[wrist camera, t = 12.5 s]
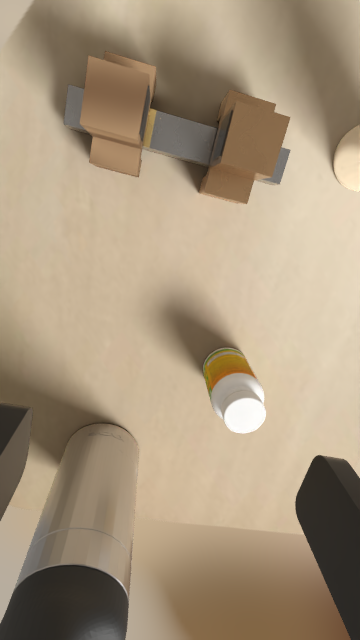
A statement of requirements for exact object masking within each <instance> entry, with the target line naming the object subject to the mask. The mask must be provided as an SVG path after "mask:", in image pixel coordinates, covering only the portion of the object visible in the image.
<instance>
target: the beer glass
mask: <svg viewBox="0 0 360 640" xmlns="http://www.w3.org/2000/svg"><path fill="white" fill-rule="evenodd" d="M333 167H334V172H335V175H336V178H337V179H338V181H339V182H340V183H341V185H343V186H344V187H345V188H347V189H349V190H352V191H360V125H358V126H356V127H354V128H353V129H351V130H350V131H349V132H347V133H346V134H345V135H344V137H343V138H342V139H341V141H340V142H339V144H338V146H337V148H336V151H335V154H334V160H333Z"/></svg>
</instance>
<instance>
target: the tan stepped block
mask: <svg viewBox="0 0 360 640" xmlns="http://www.w3.org/2000/svg"><path fill="white" fill-rule="evenodd" d="M155 87H156V67H155V66H152V65H149V64H145V63H142V62H139V61H136V60H132V59H129V58H126V57H123V56H120V55H116V54H113V53H110V52H107V51H105V54H104V60H102V59H99V58H95V57H92V56H88V64H87V71H86V79H85V87H84V94H83V102H82V110H81V118H80V124H81V125H82V126H83V127H84V128H85V129H86V130H87V131H88V132H89V133H90V134H91V135H92V136H93V139H92V146H91V153H90V160H89V162H90V163H91V164H93V165H95V166H97V167H101V168H105V169H108V170H112V171H116V172H120V173H124V174H128V175H131V176H135V177H139V172H140V167H141V162H142V160H141V152H142V147H143V142H144V136H145V131H146V125H147V120H148V115H149V109H150V104H151V102H153V98H154V93H155Z"/></svg>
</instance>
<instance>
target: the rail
mask: <svg viewBox="0 0 360 640" xmlns="http://www.w3.org/2000/svg"><path fill="white" fill-rule="evenodd" d="M83 94H84V89H82V88H79V87H76V86H72V85H69V84H68V92H67V100H66V108H65V117H64V125H65V126H67V127H68V128H69V129H73V130H76V131H80V132H83V133H87V134H90V133H89V132H88V131H87V130H86V129H85V128H84V127H83V126H82V125H81V124H80V118H81V110H82V102H83ZM275 106H276V104H274V103H271V102H268V101H265V100H261V99H258V98H255V97H252V96H249V95H245V94H242V93H239V92H236V91H233V90H229V92H228V93H227V95H226V96H225V98H224V99H223V101H222V102H221V106H220V110H219V114H218V118H217V121H219V122H220V123H219V127H218V128H214V127H211V126H207V125H204V124H201V123H197V122H194V121H191V120H187V119H184V118H180V117H177V116H174V115H170V114H167V113H163V112H160V111H157V110H154V109H151V108H150V109H149V115H148V120H147V125H146V131H145V136H144V142H143V147H142V149H145V150H148V151H152V152H155V153H159V154H163V155H166V156H170V157H173V158H177V159H181V160H184V161H188V162H191V163H195V164H199V165H202V166H206V167H208V171H207V175H206V176H205V177H203V179H202V183H201V187H200V191H199V193H200V194H204V195H208V196H211V197H215V198H219V199H223V200H226V201H230V202H234V203H240V204H247V202H248V199H249V195H250V192H251V189H252V185H253V182H254V180H256V181H260V182H263V183H267V184H271V185H278V184H280V182H281V179H282V175H283V172H284V169H285V166H286V163H287V160H288V156H289V153H290V150H289V149H285V148H282V147H281V146H282V143H283V140H284V136H285V133H286V130H287V127H288V123H289V120H290V117H288V116H284V115H281V114H278V113H275V112H274V110H275Z"/></svg>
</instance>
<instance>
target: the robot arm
mask: <svg viewBox="0 0 360 640" xmlns="http://www.w3.org/2000/svg"><path fill="white" fill-rule="evenodd" d="M32 416H33V409H32V408H30V407H24V406H18V405H12V404H6V403H1V404H0V521H1V519H2V517H3V515H4V513H5V510H6V508H7V506H8V504H9V502H10V500H11V498H12V496H13V494H14V492H15V490H16V488H17V486H18V484H19V482H20V479H21V477H22V474H23V471H24V468H25V465H26V461H27V456H28V449H29V441H30V432H31V424H32ZM138 462H139V449H138V445H137V443H136V441H135V439H134V438H133V437H132V436H131V434H130V433H128V432H127V431H126V430H124V429H122V428H120V427H118V426H115V425H111V424H103V423H100V424H92V425H89V426H85V427H83V428H81V429H79V430H78V431H77V432H76V433H74V434H73V435H72V437H71V438H70V439H69V441H68V444H67V446H66V449H65V451H64V454H63V457H62V460H61V462H60V465H59V467H58V470H57V473H56V476H55V478H54V481H53V484H52V487H51V489H50V492H49V495H48V498H47V500H46V503H45V506H44V509H43V511H42V514H41V517H40V520H39V522H38V525H37V528H36V531H35V533H34V536H33V539H32V542H31V545H30V547H29V550H28V552H27V556H26V558H25V561H24V564H23V567H22V569H21V572H20V575H19V578H18V580H17V583H16V586H15V589H14V592H13V594H12V597H11V599H10V602H9V605H8V608H7V610H6V613H5V615H4V617H3V619H2V622H1V623H0V640H125V637H126V632H127V621H128V605H129V591H130V576H131V560H132V546H133V531H134V517H135V503H136V489H137V476H138ZM295 506H296V514H297V518H298V520H299V523H300V525H301V527H302V529H303V532H304V534H305V536H306V538H307V541H308V543H309V545H310V548H311V550H312V552H313V554H314V557H315V559H316V561H317V563H318V566H319V568H320V570H321V572H322V574H323V577H324V579H325V582H326V584H327V586H328V588H329V591H330V593H331V595H332V597H333V600H334V602H335V604H336V606H337V609H338V611H339V613H340V616H341V618H342V620H343V622H344V625H345V627H346V629H347V631H348V633H349V636H350V638H351V640H360V478H359V477H358V475H357V474H356V472H355V471H354V470H353V468H352V467H351V466H350V464H349V463H348V462H347V461H346V460H344V459H339V458H333V457H327V456H321V455H318V456H316V457H315V458H314V459H313V461H312V463H311V465H310V467H309V469H308V471H307V474H306V476H305V478H304V480H303V482H302V485H301V487H300V489H299V491H298V493H297V496H296V504H295Z"/></svg>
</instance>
